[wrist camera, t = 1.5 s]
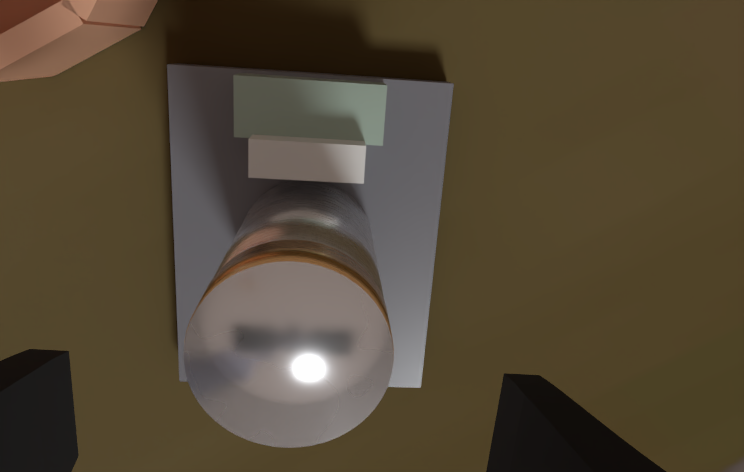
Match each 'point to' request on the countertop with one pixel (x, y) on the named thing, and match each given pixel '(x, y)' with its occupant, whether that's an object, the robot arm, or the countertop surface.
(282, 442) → the battery cell
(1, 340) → the countertop surface
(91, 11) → the cup
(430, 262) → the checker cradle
